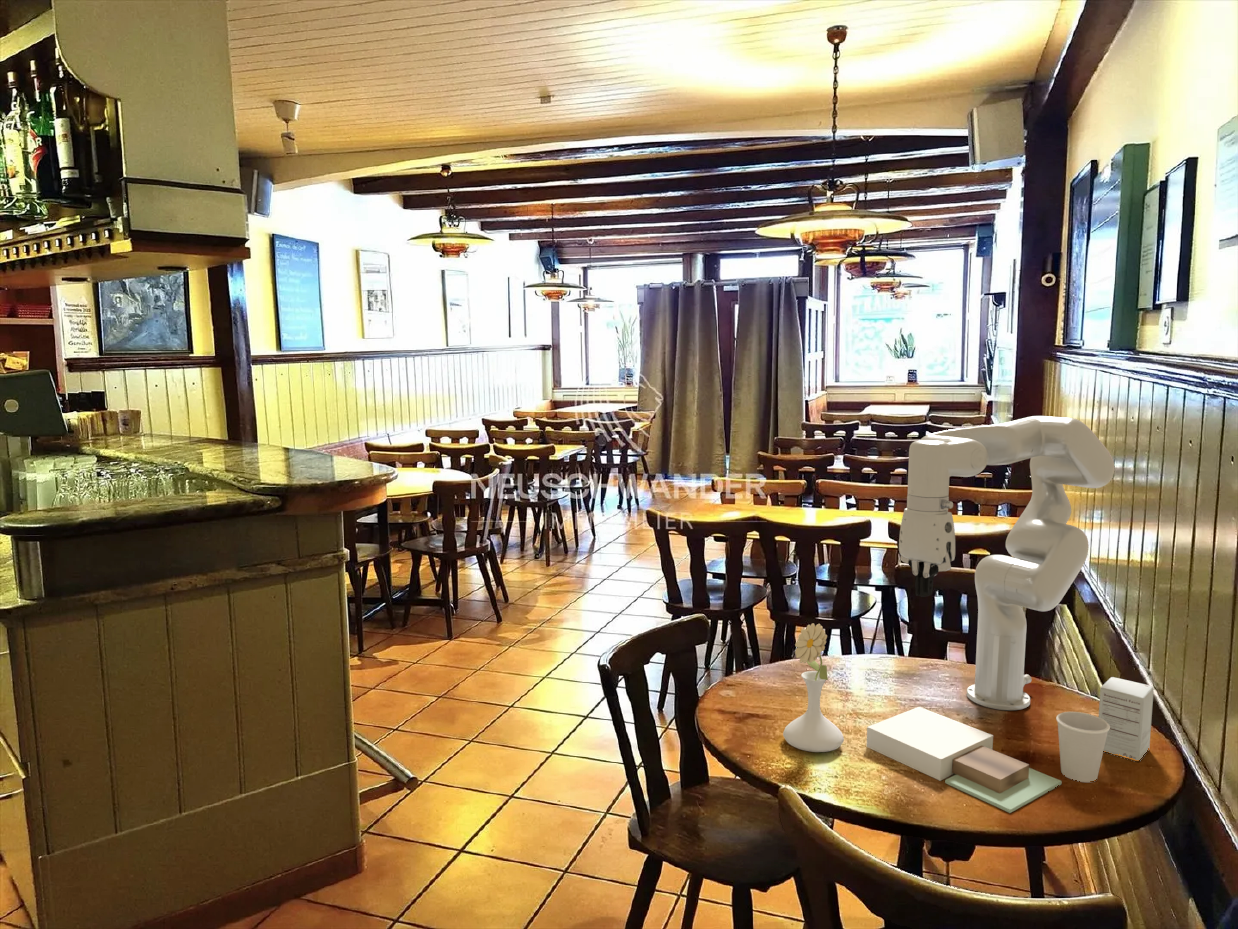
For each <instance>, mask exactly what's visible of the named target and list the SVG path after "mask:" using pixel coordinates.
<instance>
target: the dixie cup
mask: <svg viewBox="0 0 1238 929" xmlns="http://www.w3.org/2000/svg"><path fill="white" fill-rule="evenodd" d="M1055 719H1056V722H1057V732H1058V744H1059V745H1058V746H1059V747H1058V748H1059V757H1060V758H1059V759H1060V761H1059V762H1060V771H1061V773H1062V775H1063V776H1064V775H1065V776H1064V777H1066V778H1068V779H1069V780H1072V779H1073V780H1072V781H1075V780H1077V781H1076V782H1079V781H1080V783H1091V782H1090V781H1094V780H1096V779H1097V780H1098V778H1099V777H1098V776H1099V773H1100V772H1099V771H1100V769H1101V768H1100V767H1101V764H1102V758H1103V755H1104V752H1103V751H1104V746H1105V742H1106V737H1107V733H1108V731H1109V729H1110V726H1109V724H1108V723H1107V722H1106V721H1105V720H1103V719H1101V718H1099V717H1098V716H1097V715H1094V714H1090V713H1086V712H1082V711H1081V712H1080V711H1064V712H1061V713H1058V714H1057V715H1056V717H1055ZM1097 780H1096V781H1097ZM1094 782H1095V781H1094Z"/></svg>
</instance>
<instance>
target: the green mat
mask: <svg viewBox="0 0 1238 929" xmlns="http://www.w3.org/2000/svg"><path fill="white" fill-rule="evenodd" d="M944 780H945V782H944V783H945V784H947V785H948V786H951V787H952V788H955V789H957V790H959V791H961V792H964V793H966V794H968V795H970V796H972V797H974V798H976V799H979V800H981V801H983V802H985V803H988V804H990V805H992V806H994V807H996V808H998V809H1001V810H1003V811H1005V812H1007V813H1009V814H1011V813H1013V812H1015V811H1016V810H1018V809H1020V808H1021V807H1024V806H1025V805H1027V804H1029V803H1031V802H1033V801H1034V800H1036V799H1038V798H1039V797H1041V796H1044V795H1045V794H1047V793H1048V791H1049V792H1050V791H1052V790H1054V789H1056V788H1057V786H1058V785H1059V786H1061V785H1062V780H1061V779H1058V778H1055V777H1052V776H1050V775H1047V774H1045V773H1043V772H1040V771H1038V770H1037V769H1033V768H1031V767H1029V777H1028V779H1026V780H1024V781H1022V782H1020V783H1018V784H1017V785H1015V786H1013V787H1011V788H1009V789H1007V790H1006V791H1004V792H1002V793H1000V794H999V793H997V792H995V791H993V790H990V789H988V788H986V787H984V786H981V785H979V784H977V783H975V782H972V781H970V780H968V779H966V778H963V777H961V776H959V775H956V774H953V775H951V776H949V777H947V778H945V779H944ZM1059 786H1058V787H1059ZM1055 787H1056V788H1055Z"/></svg>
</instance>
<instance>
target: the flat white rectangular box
mask: <svg viewBox="0 0 1238 929" xmlns="http://www.w3.org/2000/svg"><path fill="white" fill-rule="evenodd" d="M993 743H994V735H993V734H991V733H987V732H986V731H983V730H981V729H977V728H975V727H972V726H969V725H968V724H966V723H963V722H960V721H957V720H954V719H953V718H949V717H948V716H944V715H941V714H939V713H936V712H934V711H931V710H929V709H926V708H925V707H922V706H916V707H915V708H912V709H909V710H907V711H904V712H902V713H899V714H896V715H894V716H891V717H888V718H886V719H882V720H881V721H878V722H876V723H873V724H871V725H869V726H867V727H866V747H867V748H868V749H871V750H873V751H875V752H877V753H879V754H882V755H884V756H885V757H888V758H890V759H892V760H894V761H896V762H898V763H901V764H903V765H905V766H908V767H910V768H911V769H914V770H917V771H918V772H920V773H923V774H925V775H927V776H929V777H931V778H933V779H935V780H938V781H940V782H941V781H942V780H946V779H948V778H950V777H952V776H954V775H955V774H954V773H952V765H953V759H954V758H956V757H959V756H961V755H963V754H965V753H967V752H969V751H971V750H973V749H975V748H978V747H980V746H984V747H987V748H989V749H992V750H993Z"/></svg>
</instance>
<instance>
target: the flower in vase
mask: <svg viewBox="0 0 1238 929" xmlns="http://www.w3.org/2000/svg"><path fill="white" fill-rule="evenodd" d="M827 638H828V635H827V634H826V630H825V629H824V628H823V626H822V625H821V624H820V623H818V624H816V625H815V623H811V624H808V625H806V628H802V629H801V631H800V634H799V635H798V637H797V641H796V642H795V644H794V645H795V647H796V649H795V652H794V655H795V658H796V659H799V663H800V664H802V663H803V664H807V665H808V666H810V667H811V668H812V669H814V670H809V671H804V672H802V673H801V675H800V676H801V678H802V679H803V681H804V684H805V686H806V689H807V699H808V700H807V703H808V704H807V709H806V711H805V712H804V713H803V714H802V715H800V716H798V717H797V718H795V719H793V720H792V721H791V722H789V723H788V724H787V725H786V726H785V728H784V730H783V732H782V736H783V738H784V740H785V741H786V743H787V744H788V745H790V746H792V747H794V748H796V749H798V750H802V751H805V752H811V753H825V752H826V753H827V752H832V751H835V750H837V749H839V748H840V747H841V746H842V744H843V743H844V740H845V738H844V734H843V732H842V730H840V728H839V727H838V726H837V725H836V724H834V723H833V722H832V721H831V720H830V719H828V718H827V717H825V716H824V714H823V712H822V711H821V696H822V691H823V690H822V689H823V686H824V685H825V683H826V682H827V681H828V680H829V676H828V666H827V665H826V664H825V665H824V664H823V659H822V655H821V654H822V652H823V651H825V648H826V646H825V645H826V643H827ZM817 658H819V661H820V664H819V663H818V662H817V661H816V660H817Z"/></svg>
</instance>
